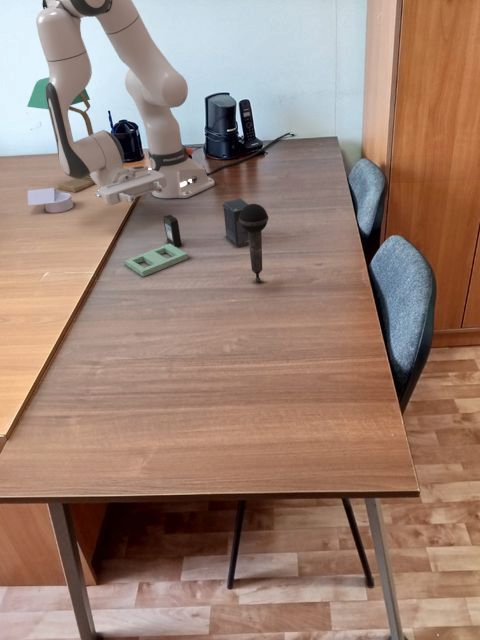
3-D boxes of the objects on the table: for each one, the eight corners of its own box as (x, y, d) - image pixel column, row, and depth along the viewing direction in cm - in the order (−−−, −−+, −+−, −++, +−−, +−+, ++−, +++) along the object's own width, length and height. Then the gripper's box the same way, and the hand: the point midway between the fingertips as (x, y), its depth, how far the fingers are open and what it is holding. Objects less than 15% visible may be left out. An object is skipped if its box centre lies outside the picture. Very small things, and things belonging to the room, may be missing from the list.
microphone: (243, 276, 134) (236, 200, 122) (270, 274, 135) (266, 197, 123) (245, 290, 129) (238, 212, 117) (273, 287, 129) (269, 209, 117)
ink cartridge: (166, 242, 153) (162, 215, 148) (174, 239, 154) (169, 213, 149) (174, 248, 150) (170, 221, 145) (181, 245, 151) (177, 219, 146)
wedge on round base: (31, 215, 175) (71, 211, 176) (24, 195, 171) (65, 191, 172) (36, 204, 182) (75, 201, 183) (30, 185, 178) (69, 181, 179)
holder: (170, 248, 150) (169, 243, 149) (188, 258, 144) (187, 253, 143) (126, 265, 143) (125, 260, 142) (143, 276, 137) (142, 271, 136)
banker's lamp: (121, 176, 201) (98, 73, 180) (79, 195, 187) (49, 86, 166) (92, 170, 208) (67, 71, 187) (49, 188, 194) (18, 83, 173)
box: (255, 242, 150) (252, 206, 143) (236, 247, 148) (233, 211, 141) (243, 232, 155) (240, 197, 149) (225, 237, 153) (222, 202, 147)
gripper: (89, 182, 154) (111, 194, 146) (149, 164, 164) (174, 174, 156) (94, 203, 158) (117, 216, 150) (153, 184, 168) (177, 194, 160)
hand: (146, 194), depth 153 cm, fingers open, 8 cm apart
